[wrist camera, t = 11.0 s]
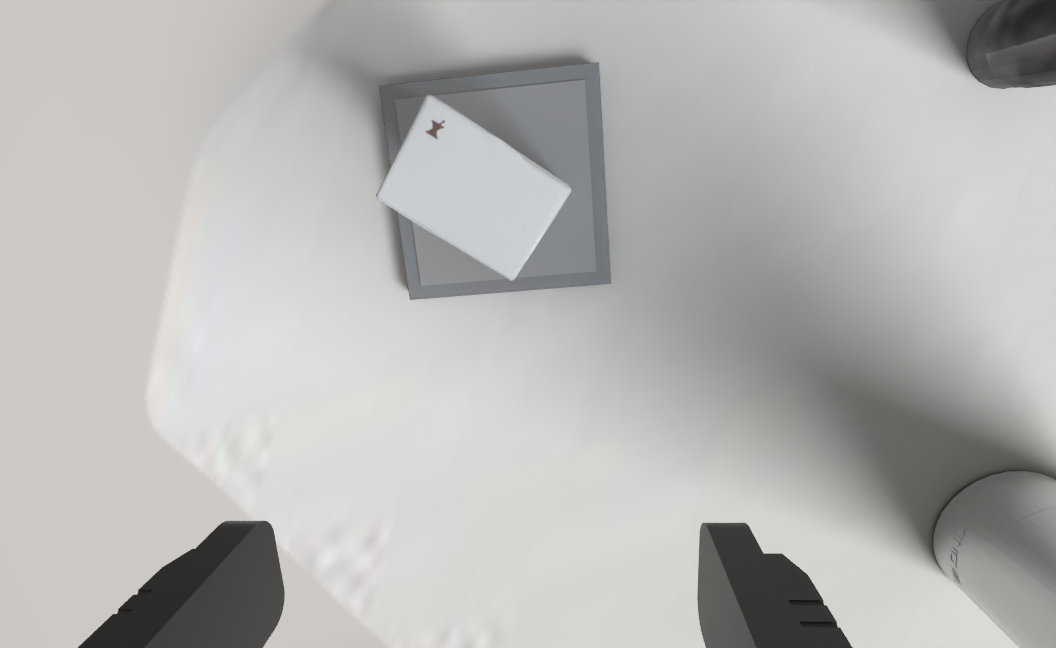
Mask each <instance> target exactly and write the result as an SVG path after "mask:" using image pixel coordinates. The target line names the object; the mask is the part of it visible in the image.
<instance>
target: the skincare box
mask: <svg viewBox="0 0 1056 648" xmlns="http://www.w3.org/2000/svg"><path fill="white" fill-rule="evenodd" d="M570 192H571V188H570V186H569V185H568V184H567V183H565V182H564V181H562V180H561V179H559V178H557V177H556V176H554V175H553V174H551V173H550V172H548V171H547V170H545V169H544V168H542V167H541V166H539V165H538V164H536V163H535V162H533V161H532V160H530V159H529V158H527V157H526V156H524V155H523V154H521V153H520V152H518V151H516V150H515V149H513V148H512V147H511V146H510V145H508V144H507V143H505V142H504V141H503V140H501V139H500V138H498V137H496V136H495V135H493V134H491V133H490V132H488V131H487V130H485V129H484V128H482V127H481V126H480V125H478V124H476V123H475V122H473V121H472V120H470V119H469V118H467V117H466V116H464V115H463V114H461V113H459V112H458V111H456V110H455V109H453V108H452V107H450V106H449V105H447V104H445V103H444V102H442V101H441V100H439V99H438V98H436V97H434V96H432V95H427V96H426V97H425V99H424V101H423V103H422V105H421V107H420V110H419V112H418V114H417V116H416V118H415V120H414V122H413V124H412V126H411V128H410V130H409V132H408V134H407V136H406V138H405V140H404V142H403V143H402V145H401V147H400V149H399V151H398V153H397V155H396V157H395V159H394V161H393V163H392V165H391V167H390V169H389V171H388V173H387V175H386V177H385V179H384V181H383V183H382V185H381V187H380V189H379V191H378V193H377V195H376V197H377V199H378V200H380V201H381V202H383V203H384V204H386V205H387V206H389V207H391V208H392V209H394V210H395V211H397V212H398V213H400V214H401V215H403V216H405V217H406V218H408V219H409V220H411V221H412V222H414V223H416V224H417V225H419V226H420V227H422V228H424V229H425V230H427V231H429V232H431V233H432V234H434V235H436V236H438V237H439V238H441V239H443V240H444V241H446V242H448V243H450V244H451V245H453V246H455V247H456V248H458V249H460V250H461V251H463V252H465V253H466V254H468V255H469V256H471V257H473V258H474V259H476V260H478V261H479V262H481V263H483V264H484V265H486V266H488V267H489V268H491V269H493V270H494V271H496V272H497V273H499V274H501V275H502V276H504V277H506V278H507V279H509V280H510V281H513V280H514V279H515V278H516V276H517V275H518V273H519V272H520V270H521V269H522V267H523V266H524V264H525V263H526V261H527V260H528V258H529V257H530V255H531V254H532V252H533V251H534V249H535V248H536V246H537V244H538V243H539V241H540V240H541V238H542V237H543V235H544V234H545V232H546V231H547V229H548V227H549V226H550V224H551V223H552V221H553V220H554V218H555V217H556V215H557V214H558V212H559V210H560V209H561V207H562V206H563V204H564V202H565V201H566V199H567V197H568V196H569V194H570Z"/></svg>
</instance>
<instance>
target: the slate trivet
mask: <svg viewBox="0 0 1056 648" xmlns="http://www.w3.org/2000/svg"><path fill="white" fill-rule="evenodd" d="M379 89H380V96H381V103H382V110H383V117H384V124H385V131H386V138H387V145H388V152H389V158H390V165H392V163H393V161H394V159H395V157H396V155H397V153H398V151H399V149H400V147H401V145H402V143H403V142H404V140H405V138H406V136H407V134H408V132H409V130H410V128H411V126H412V124H413V122H414V120H415V118H416V116H417V114H418V112H419V110H420V107H421V105H422V103H423V101H424V99H425V97H426V96H427V95H432V96H434V97H436V98H438V99H439V100H441V101H442V102H444V103H445V104H447V105H449V106H450V107H452V108H453V109H455V110H456V111H458V112H459V113H461V114H463V115H464V116H466V117H467V118H469V119H470V120H472V121H473V122H475V123H476V124H478V125H480V126H481V127H482V128H484V129H485V130H487V131H488V132H490V133H491V134H493V135H495V136H496V137H498V138H500V139H501V140H503V141H504V142H505V143H507V144H508V145H510V146H511V147H512V148H513V149H515V150H516V151H518V152H520V153H521V154H523V155H524V156H526V157H527V158H529V159H530V160H532V161H533V162H535V163H536V164H538V165H539V166H541V167H542V168H544V169H545V170H547V171H548V172H550V173H551V174H553V175H554V176H556V177H557V178H559V179H561V180H562V181H564V182H565V183H567V184H568V185H569V186H570V188H571V192H570V194H569V196H568V197H567V199H566V201H565V202H564V204H563V206H562V207H561V209H560V210H559V212H558V214H557V215H556V217H555V218H554V220H553V221H552V223H551V224H550V226H549V227H548V229H547V231H546V232H545V234H544V235H543V237H542V238H541V240H540V241H539V243H538V244H537V246H536V248H535V249H534V251H533V252H532V254H531V255H530V257H529V258H528V260H527V261H526V263H525V264H524V266H523V267H522V269H521V270H520V272H519V273H518V275H517V276H516V278H515V279H514V280H513V281H510V280H509V279H507V278H506V277H504V276H502V275H501V274H499V273H497V272H496V271H494V270H493V269H491V268H489V267H488V266H486V265H484V264H483V263H481V262H479V261H478V260H476V259H474V258H473V257H471V256H469V255H468V254H466V253H465V252H463V251H461V250H460V249H458V248H456V247H455V246H453V245H451V244H450V243H448V242H446V241H444V240H443V239H441V238H439V237H438V236H436V235H434V234H432V233H431V232H429V231H427V230H425V229H424V228H422V227H420V226H419V225H417V224H416V223H414V222H412V221H411V220H409V219H408V218H406V217H405V216H403V215H401V214H400V213H398V212H397V214H398V221H399V227H400V234H401V241H402V248H403V255H404V262H405V269H406V276H407V283H408V289H409V296H410V300H414V299H427V298H439V297H451V296H464V295H476V294H488V293H500V292H513V291H525V290H537V289H550V288H562V287H574V286H586V285H599V284H611V277H610V259H609V241H608V223H607V204H606V186H605V168H604V149H603V131H602V113H601V94H600V76H599V62H597V63H587V64H578V65H569V66H559V67H550V68H541V69H531V70H522V71H512V72H503V73H494V74H484V75H475V76H466V77H456V78H447V79H437V80H428V81H419V82H409V83H400V84H391V85H381V86H379Z"/></svg>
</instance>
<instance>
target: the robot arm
mask: <svg viewBox="0 0 1056 648" xmlns="http://www.w3.org/2000/svg"><path fill="white" fill-rule="evenodd" d="M933 546H934V553H935V556H936V560H937V562H938V564H939V566H940V567H941V569H942V570H943V572H944V573H945V574H946V575H947V576H948V577H949V578H950V579H951V580H952V581H953V582H954V583H955V584H956V585H957V586H958V587H959V588H960V589H961V590H962V591H963V592H964V593H965V594H966V595H967V596H968V597H969V598H970V599H971V600H972V601H973V602H974V603H975V604H976V605H977V606H978V607H979V608H980V609H981V610H982V611H983V612H984V613H985V614H986V615H987V616H988V617H989V618H990V619H991V620H992V621H993V622H994V623H995V624H996V625H997V626H998V627H999V628H1000V629H1001V630H1002V631H1003V632H1004V633H1005V634H1006V635H1007V636H1008V637H1009V638H1010V639H1011V640H1012V641H1013V642H1014V643H1015V644H1016V645H1017V646H1018V647H1019V648H1056V480H1055V479H1053V478H1051V477H1049V476H1046V475H1043V474H1040V473H1036V472H1029V471H1007V472H1003V473H999V474H994V475H991V476H988V477H986V478H983V479H981V480H978V481H976V482H974V483H973V484H971V485H970V486H968V487H967V488H965V489H963V490H962V491H961V492H960V493H959V494H958V495H956V496H955V497H954V498H953V499H952V500H951V501H950V502H949V504H948V505H947V506H946V508H945V509H944V510H943V512H942V513H941V516H940V518H939V520H938V522H937V524H936V528H935V532H934V536H933ZM283 605H284V586H283V580H282V574H281V569H280V563H279V558H278V552H277V547H276V541H275V536H274V531H273V528H272V526H271V524H270V523H269V522H267V521H225V522H223V523H222V524H220V525H219V526H218V527H217V528H216V529H215V530H214V531H213V532H212V533H211V534H210V535H209V536H208V537H207V538H206V539H205V540H204V541H203V542H202V543H201V544H200V545H199V546H198V547H197V548H196V549H192V550H190V551H188V552H187V553H185V554H184V555H182V556H180V557H179V558H177V559H175V560H174V561H172V562H171V563H169V564H167V565H166V566H164V567H162V569H160V570H159V571H158V572H157V573H156V574H155V575H154V576H153V577H152V578H151V579H150V580H149V581H148V582H146V583H145V584H144V585H143V587H141V588H140V589H139V590H138V594H137V595H133V596H132V597H131V598H130V599H129V600H128V601H126V602H125V603H124V604H123V605H122V606H121V607H120V608H119V609H118V613H117V614H113V615H112V616H111V617H110V618H109V619H108V620H106V621H105V622H104V623H103V624H102V625H101V626H100V627H99V628H98V629H97V630H96V631H95V632H94V633H93V634H92V635H91V636H90V637H89V638H88V639H86V640H85V641H84V642H83V643H82V644H81V645H80V646H79V647H78V648H263V646H264V645H265V643H266V642H267V640H268V638H269V637H270V636H271V633H272V632H273V631H274V629H275V628H276V626H277V624H278V622H279V620H280V617H281V614H282V610H283ZM698 612H699V620H700V626H701V631H702V635H703V639H704V642H705V646H706V648H852V646H851V645H850V643H849V641H848V640H847V638H846V637H845V635H844V633H843V632H842V630H841V628H838V627H837V622H836V620H835V619H834V617H833V615H832V614H831V612H830V611H829V609H828V607H827V606H826V605H824V603H823V599H822V598H821V596H820V594H819V593H818V591H817V589H816V588H815V586H814V584H813V583H812V581H811V580H810V578H809V576H808V575H807V574H806V573H805V572H803V571H802V570H801V569H800V568H799V567H797V566H796V565H795V564H794V563H793V562H791V561H790V560H789V559H788V558H787V557H785V556H784V555H783V554H763V552H762V550H761V548H760V546H759V545H758V543H757V541H756V539H755V537H754V535H753V533H752V531H751V529H750V528H749V526H748V525H747V524H746V523H702V525H701V529H700V543H699V571H698Z"/></svg>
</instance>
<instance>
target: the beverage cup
mask: <svg viewBox="0 0 1056 648" xmlns="http://www.w3.org/2000/svg"><path fill="white" fill-rule="evenodd" d="M967 61H968V64H969V67H970V70H971V72H972V73H973V75H974V76H975V77H976V78H977V79H978V80H979V82H981V83H983V84H985V85H987V86H989V87H992V88H1000V89H1005V88H1010V87H1014V88H1015V87H1024V88H1031V87H1040V86H1050V85H1056V0H1003V1H1001V2H999V3H997V4H995V5H994V6H992V7H990V8H989V9H988V10H987V11H986V12H985V13H984V14H983V15H982V16H981V17H980V18H979V19H978V21H977V23H976V24H975V26H974V28H973V29H972V31H971V34H970V37H969V40H968V44H967Z"/></svg>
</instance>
